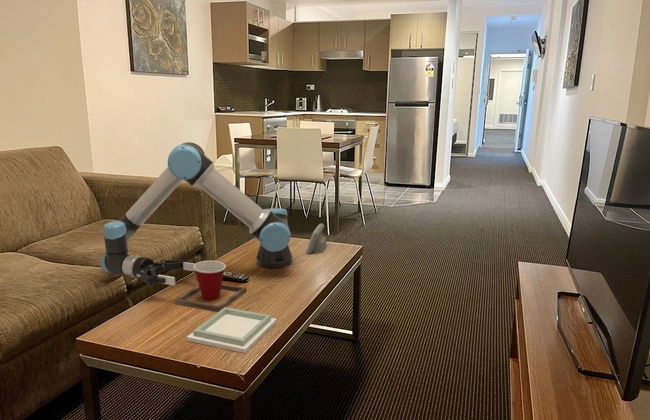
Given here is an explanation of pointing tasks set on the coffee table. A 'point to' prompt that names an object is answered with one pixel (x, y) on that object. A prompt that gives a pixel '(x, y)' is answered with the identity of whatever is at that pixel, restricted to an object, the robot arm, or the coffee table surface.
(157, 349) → the coffee table surface
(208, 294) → the plastic cup
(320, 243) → the grey irregular lump
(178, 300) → the holder frame
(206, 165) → the robot arm
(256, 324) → the base plate
